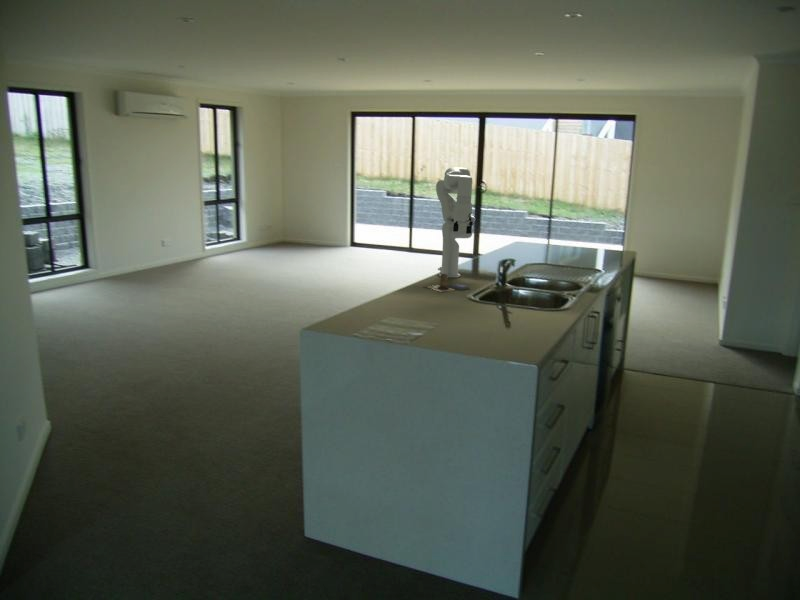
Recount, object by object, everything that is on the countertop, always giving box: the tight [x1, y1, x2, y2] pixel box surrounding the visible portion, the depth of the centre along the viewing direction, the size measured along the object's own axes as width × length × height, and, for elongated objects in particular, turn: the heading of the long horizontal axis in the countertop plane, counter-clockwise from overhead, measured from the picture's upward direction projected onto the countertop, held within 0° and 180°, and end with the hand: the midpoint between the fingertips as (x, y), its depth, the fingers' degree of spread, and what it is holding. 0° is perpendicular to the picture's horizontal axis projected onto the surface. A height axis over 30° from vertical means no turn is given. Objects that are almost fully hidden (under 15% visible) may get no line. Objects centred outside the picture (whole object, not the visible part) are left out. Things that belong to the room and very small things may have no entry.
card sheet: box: [431, 284, 456, 293], centre depth 331 cm, size 14×10×1 cm
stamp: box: [438, 273, 449, 290], centre depth 328 cm, size 4×4×8 cm
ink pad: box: [447, 283, 471, 291], centre depth 334 cm, size 9×7×2 cm
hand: (462, 232), depth 337 cm, fingers open, 9 cm apart
